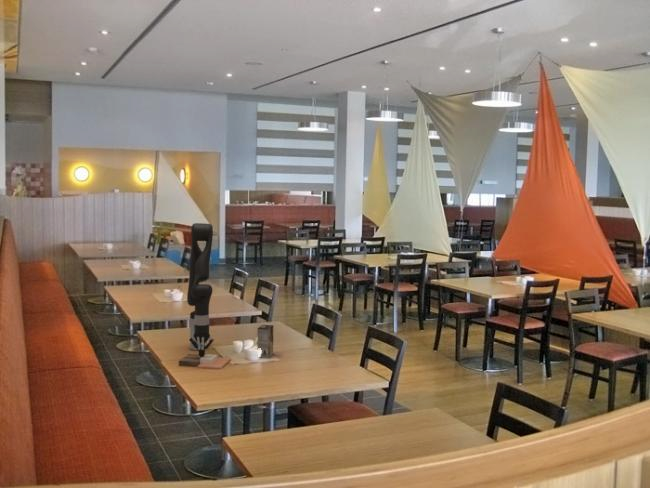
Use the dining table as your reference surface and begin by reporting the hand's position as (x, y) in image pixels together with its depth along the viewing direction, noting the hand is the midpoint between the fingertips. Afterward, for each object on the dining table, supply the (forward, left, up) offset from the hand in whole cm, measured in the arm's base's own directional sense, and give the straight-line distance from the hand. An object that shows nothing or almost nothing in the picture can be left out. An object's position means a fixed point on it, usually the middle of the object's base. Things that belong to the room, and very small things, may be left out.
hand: (201, 356), depth 350 cm
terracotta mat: (0, +7, -4) cm, 8 cm away
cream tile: (0, +4, -2) cm, 4 cm away
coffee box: (-21, +28, -4) cm, 35 cm away
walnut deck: (0, -5, -4) cm, 6 cm away
